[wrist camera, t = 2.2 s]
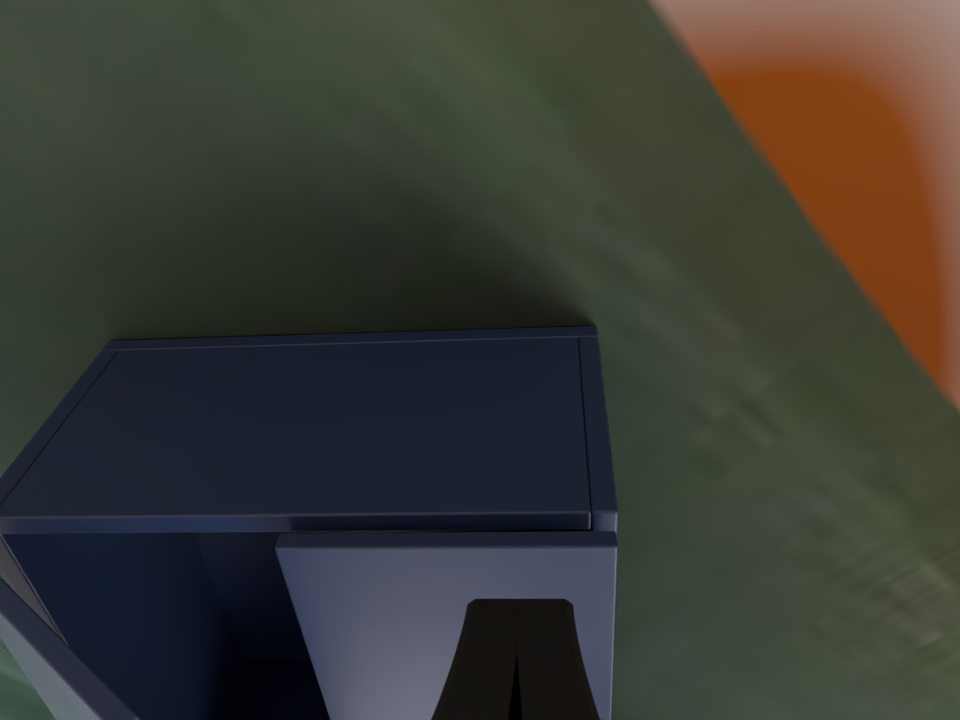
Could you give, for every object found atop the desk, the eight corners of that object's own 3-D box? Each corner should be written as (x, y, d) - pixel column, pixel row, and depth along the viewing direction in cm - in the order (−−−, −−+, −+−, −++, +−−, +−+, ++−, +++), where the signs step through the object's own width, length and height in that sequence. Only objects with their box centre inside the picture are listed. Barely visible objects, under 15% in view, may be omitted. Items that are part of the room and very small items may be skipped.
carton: (592, 657, 28) (607, 887, 22) (238, 655, 29) (161, 873, 23) (596, 324, 20) (622, 544, 14) (108, 339, 21) (-58, 548, 15)
